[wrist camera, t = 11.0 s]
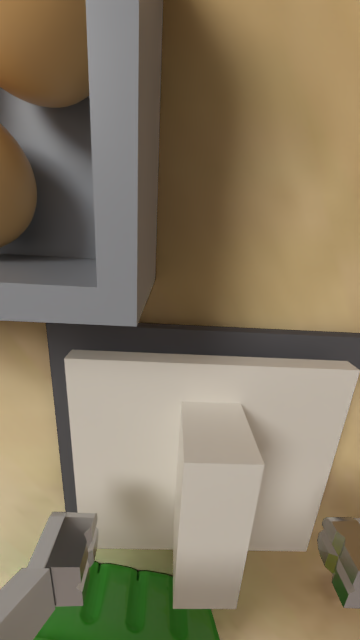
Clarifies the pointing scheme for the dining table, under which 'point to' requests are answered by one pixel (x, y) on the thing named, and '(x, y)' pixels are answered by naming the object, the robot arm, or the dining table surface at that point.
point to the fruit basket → (128, 610)
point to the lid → (204, 456)
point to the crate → (79, 159)
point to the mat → (178, 341)
